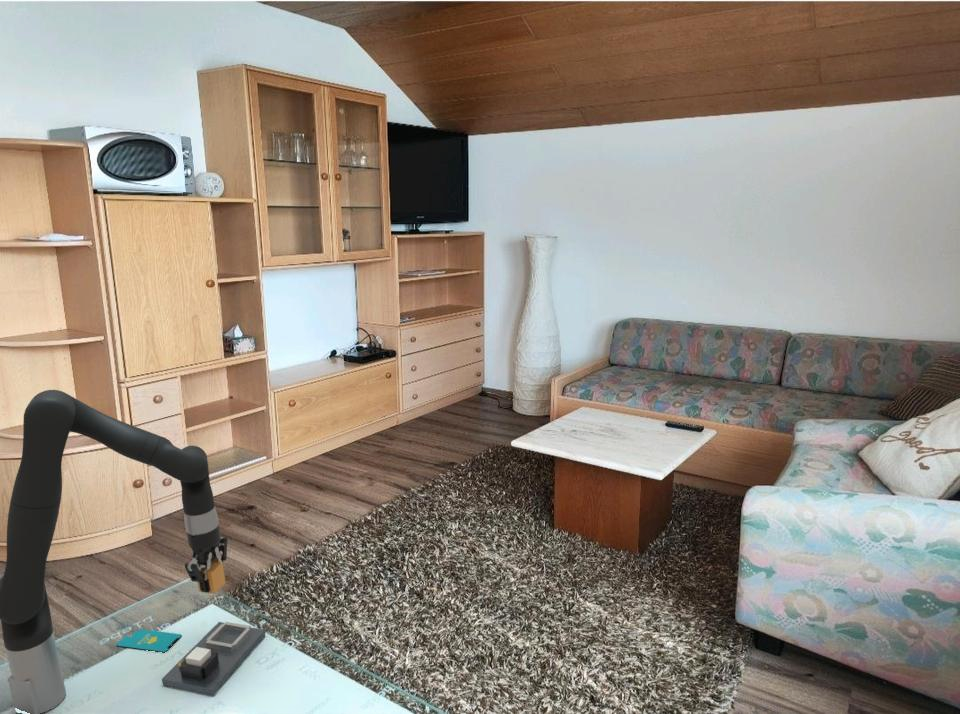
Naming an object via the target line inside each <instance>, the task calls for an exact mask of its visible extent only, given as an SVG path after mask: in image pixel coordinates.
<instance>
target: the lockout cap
mask: <svg viewBox="0 0 960 714" xmlns="http://www.w3.org/2000/svg"><path fill="white" fill-rule="evenodd" d="M201 566H205V565H201ZM201 574H202V575H203V574H204V572H203V571H201ZM208 579H209V585H210V591H209V592H208V593H207V594H213V595H215V594H217V592H218V591H219V590H221V588H223V586H224V585H226V576H225V570H224V565H223V562H218V563H217V562H214V561H212V562H211V563H210V570H208ZM197 585H198V591H199V592H200V593H203V592H202V591H201V590H200V585H199V582H197Z"/></svg>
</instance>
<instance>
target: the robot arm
mask: <svg viewBox="0 0 960 714" xmlns="http://www.w3.org/2000/svg"><path fill="white" fill-rule="evenodd" d="M22 428H23V429H22V431H23V432H22V433H23V434H22V436H23V437H22V454H21V459H20V463H19V467H18V470H17V473H16V476H15V479H14V483H13V488H12V492H11V495H10V502H9V507H8V514H7V523H6V561H5V568H4V572H3V576H2V577H1V578H0V621H1V622H0V623H1V631H2V633H1V634H2V639H3V643H4V647H5V648H4V649H5V652H6V656H7V660H8V666H9V669H10V676H9V677H7V682H8V686H9V690H10V691H9V692H10V694H11V699H12V704H13V707H14V708H17V709H19V710H21V711H25V712H27V713H30V714H40V713H43V712H45V711H47V712H49V711H51V710H53V709H55V708H56V707H58V706H59V705H60V704H61V703H62V702H63V700H64V699H65V697H66V694H67V690H66V686H65V685H66V684H65V681H64V675H63V671H62V667H61V662H60V657H59V652H58V647H57V644H56V643H57V642H56V637H55V632H54V627H53V622H52V616H51V615H52V614H51V613H52V612H51V609H50V603H49V599H48V593H47V588H46V584H45V578H46V577H45V576H46V567H47V566H46V565H47V561H48V560H47V559H48V556H49V553H50V549H51V545H52V542H53V539H54V535H55V530H56V528H57V522H58V518H59V513H60V507H61V501H62V493H63V476H62V475H63V473H62V471H63V470H62V461H63V456H64V452H65V448H66V443H67V440H68V437H69V434H70V433H75V434H79V435H81V436H85V437H87V438H89V439H91V440H93V441H96V442H98V443H100V444H102V445H103V446H105V447H107V448H109V449H110V450H112V451H114V452H115V453H117V454H119V455H121V456H124V457H126V458H129V459H131V460H134V461H136V462H139V463H142V464H144V465H147V466H150V467H154V468H156V469H158V470H159V471H161V472H162V473H163V474H166V475H168V476H169V477H172V478H174V479H175V480H176V481H177V480H178V481H179V482H180V486H181V503H182V507H183V508H182V510H183V515H184V516H183V519H184V527H185V531H186V532H185V533H186V539H187V543H188V547H190V550H191V551H192V559H191V560H190V562H186V563H185V565H184V568H185V570H186V572H187V574H188V576H189V578H190V580H191V582H196V583H198V582H199V585H200V590H201V591H202V592H201V593H207V594H209V593H208V592H209V591H210V585H209V579H208V570H210V563H211V562H212V561H214V562H217V563H218V562H222V563H223V562H224V561H227V559H228V558H227V554H228V537H225V536H222V535H221V529H220V524H219V516H218V512H217V508H216V505H215V499H214V492H213V489H212V486H211V482H210V471H209V470H210V469H209V462H208V461H209V460H208V456H207V453H206V452H205V450H204V449H203V448H201V446H200V447H199V446H197V445H188V446H185V447H183V448H179V447H177V446H175V445H174V444H173V443H172V442H171V441H170V440H169V439H168V438H166V437H163V436H161V435H159V434H156V433H153V432H152V431H151V432H150V431H148V430H145V429H142V428H140V427H137V426H135V425H131V424H130V423H127V422H124V421H122V420H119V419H117V418H115V417H112V416H110V415H108V414H105V413H103V412H102V411H99V410H97V409H96V408H93V407H91V406H90V405H88V404H86V403H84V402H83V401H81V400H79V399H77V398H76V397H74V396H72V395H70V394H68V393H67V392H65V391H63V390H59V389H47V390H43V391H41V392H38V393H37V394H36V395H34V397H33V398H31V399H30V402H28V404H27V406H26V408H25V410H24V413H23V427H22ZM202 565H205V566H202ZM201 571H203V572H204V574H203V575H202V574H201ZM50 709H51V710H50ZM48 710H49V711H48ZM45 713H46V712H45ZM43 714H44V713H43Z"/></svg>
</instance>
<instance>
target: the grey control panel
mask: <svg viewBox="0 0 960 714" xmlns="http://www.w3.org/2000/svg"><path fill="white" fill-rule="evenodd" d="M265 637H266V629H263V628H257V627H251V625H246V624H241V623H235V622H230V621H225V622H222V621H218V622H217V623H216V624H215V625H214V626H213V627H212V628H211V629H210V630H209V631H208V632H207V633H206V634H205V635H204V636H203V637H202V638H201V639H200V640H199V641H198V642H197V643H196V644H195V645H194V646H193V647H192V648H191V649H190V650H189V651H188V652H187V653H186V654H185V655H184V656H183V657H182V658H181V659H180V660H179V661H178V662H177V663H176V664H175V665H174V666H173V667H172V668H171V669H170V670H169V671H168V672H167V673H166V674H165V675H164V676H163V677H162V678H161V682H162V687H165V688H166V687H167V688H172V689H176V690H181V691H187V692H189V693H190V692H191V693H196V694H200V695H204V696H210V697H214V696H215V695H216V694H217V692H218V691H219V690H220V689H221V688H222V687H223V686H224V685H225V683H226V682H227V681H228V680H229V679H230V678H231V676H232V675H233V674H234V673H235V672H236V671H237V670H238V669H239V667H240V666H241V665H242V664H243V663H244V662H245V661H246V660H247V658H248V657H249V656H250V655H251V654H252V652H253V651H254V650H255V649H257V647H258V645H259V644H260V643H261V642H262V641H264V639H265ZM196 647H200V648H205V649H210V650H211V657H210V658H209V659H208V660H207V661H206V662H205V663H204V664H203V665H202V666H201V667H198V666H193V665H188V664H186V657H187V656H188V655H189V654H190V653H191V652H192V651H193V650H194V649H195V648H196Z"/></svg>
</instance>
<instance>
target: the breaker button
mask: <svg viewBox="0 0 960 714" xmlns="http://www.w3.org/2000/svg"><path fill="white" fill-rule="evenodd" d="M210 657H211V650H210V649H205V648H200V647H196V648H195V649H194V650H193V651H192V652H191V653H190V654H189V655H188V656H187V657H186V664H188V665H193V666H198V667H201V666H202V665H203V664H204V663H205V662H206V661H207V660H208V659H209V658H210Z"/></svg>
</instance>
